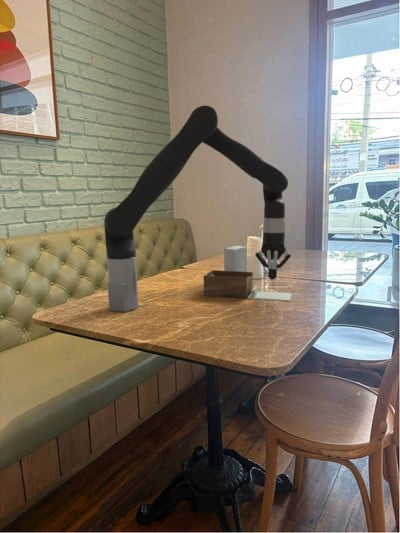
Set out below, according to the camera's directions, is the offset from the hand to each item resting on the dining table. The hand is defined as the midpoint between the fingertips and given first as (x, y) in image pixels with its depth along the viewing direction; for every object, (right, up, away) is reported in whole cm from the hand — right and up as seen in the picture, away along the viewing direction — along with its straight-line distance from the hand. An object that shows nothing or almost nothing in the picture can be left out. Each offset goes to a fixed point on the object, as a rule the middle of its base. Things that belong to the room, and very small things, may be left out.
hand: (272, 279), depth 141 cm
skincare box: (-11, -2, +25) cm, 28 cm away
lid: (0, -7, +2) cm, 7 cm away
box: (-15, -6, +7) cm, 18 cm away
